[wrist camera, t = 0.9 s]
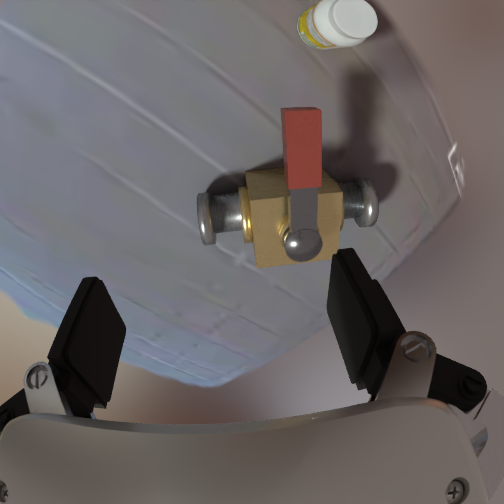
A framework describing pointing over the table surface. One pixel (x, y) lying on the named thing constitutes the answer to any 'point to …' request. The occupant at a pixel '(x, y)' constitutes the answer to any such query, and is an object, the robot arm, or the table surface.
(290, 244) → the lever
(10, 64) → the table surface
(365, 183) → the valve
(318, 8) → the supplement bottle
